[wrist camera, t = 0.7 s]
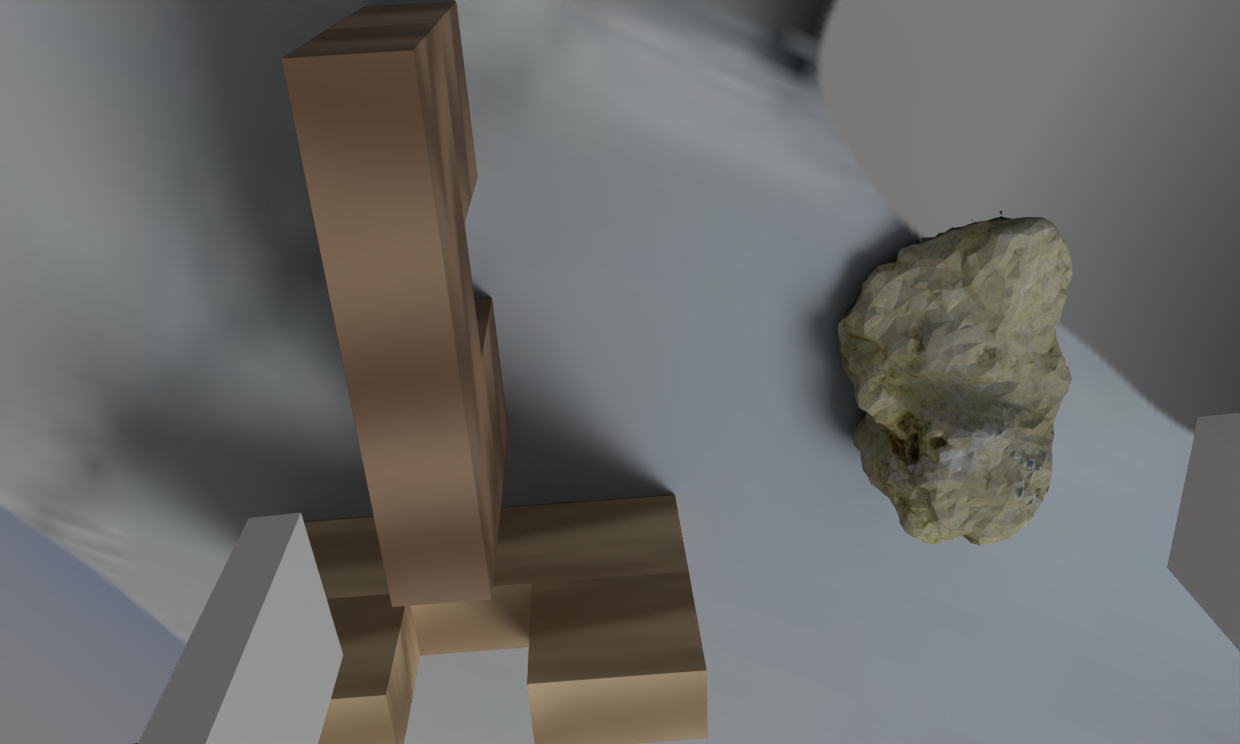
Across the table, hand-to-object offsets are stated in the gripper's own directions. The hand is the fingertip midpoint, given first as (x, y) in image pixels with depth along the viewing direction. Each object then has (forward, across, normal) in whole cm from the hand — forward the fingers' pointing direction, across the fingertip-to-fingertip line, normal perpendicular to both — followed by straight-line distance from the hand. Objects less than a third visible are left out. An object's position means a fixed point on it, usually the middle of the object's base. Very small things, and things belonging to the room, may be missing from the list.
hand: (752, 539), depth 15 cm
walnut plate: (+22, -8, -2) cm, 23 cm away
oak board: (+22, -8, -15) cm, 28 cm away
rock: (+22, +11, -9) cm, 26 cm away
